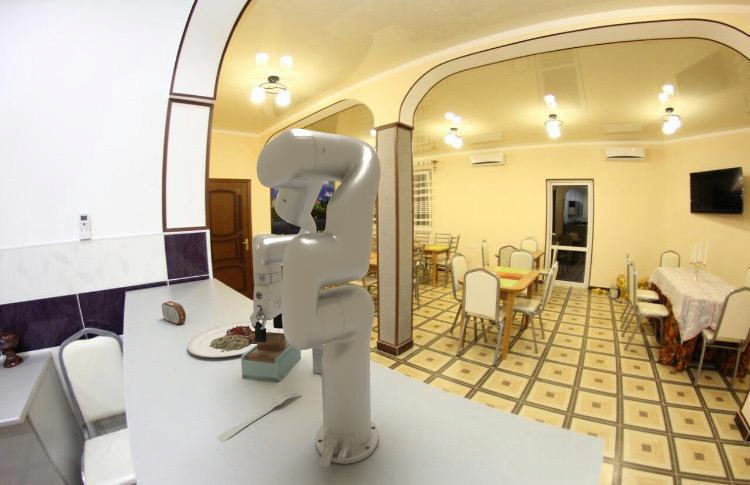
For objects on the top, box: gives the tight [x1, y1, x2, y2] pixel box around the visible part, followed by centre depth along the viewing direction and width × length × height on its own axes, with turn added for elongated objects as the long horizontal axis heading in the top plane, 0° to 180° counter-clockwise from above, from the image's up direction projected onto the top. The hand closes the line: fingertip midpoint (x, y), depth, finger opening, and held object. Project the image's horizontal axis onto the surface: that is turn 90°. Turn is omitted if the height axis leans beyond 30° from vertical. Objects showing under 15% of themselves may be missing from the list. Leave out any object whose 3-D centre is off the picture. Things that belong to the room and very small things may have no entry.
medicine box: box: [311, 344, 325, 374], centre depth 92 cm, size 8×4×9 cm, turn 168°
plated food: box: [187, 321, 281, 358], centre depth 112 cm, size 30×30×3 cm
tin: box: [161, 300, 187, 325], centre depth 131 cm, size 15×3×8 cm, turn 58°
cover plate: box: [246, 332, 290, 363], centre depth 91 cm, size 12×9×5 cm
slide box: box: [240, 338, 302, 383], centre depth 92 cm, size 14×11×6 cm
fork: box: [217, 392, 303, 443], centre depth 71 cm, size 3×21×3 cm, turn 141°
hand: (270, 334), depth 91 cm, fingers open, 9 cm apart
